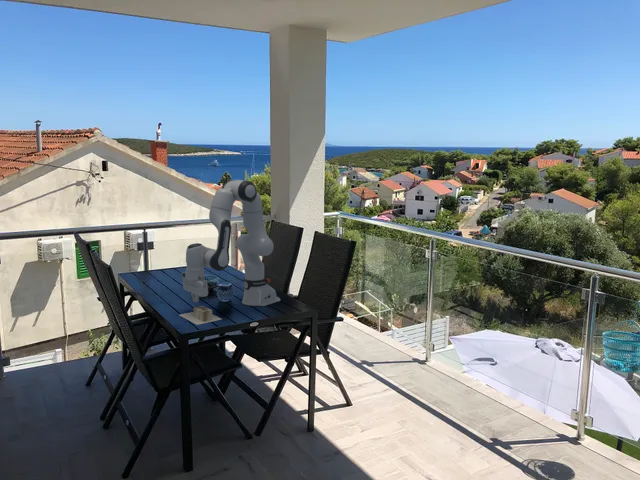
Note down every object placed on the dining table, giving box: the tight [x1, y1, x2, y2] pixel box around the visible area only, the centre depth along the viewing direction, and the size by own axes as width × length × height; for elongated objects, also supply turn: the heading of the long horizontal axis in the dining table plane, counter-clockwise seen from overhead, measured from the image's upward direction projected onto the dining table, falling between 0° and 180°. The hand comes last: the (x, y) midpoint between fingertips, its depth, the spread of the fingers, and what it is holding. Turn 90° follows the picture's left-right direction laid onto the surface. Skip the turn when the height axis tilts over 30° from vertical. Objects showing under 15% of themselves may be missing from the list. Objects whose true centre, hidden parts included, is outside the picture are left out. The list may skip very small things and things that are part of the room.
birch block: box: [193, 305, 213, 322], centre depth 241 cm, size 5×5×10 cm
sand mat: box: [179, 311, 223, 326], centre depth 244 cm, size 14×20×1 cm
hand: (195, 301), depth 246 cm, fingers closed
